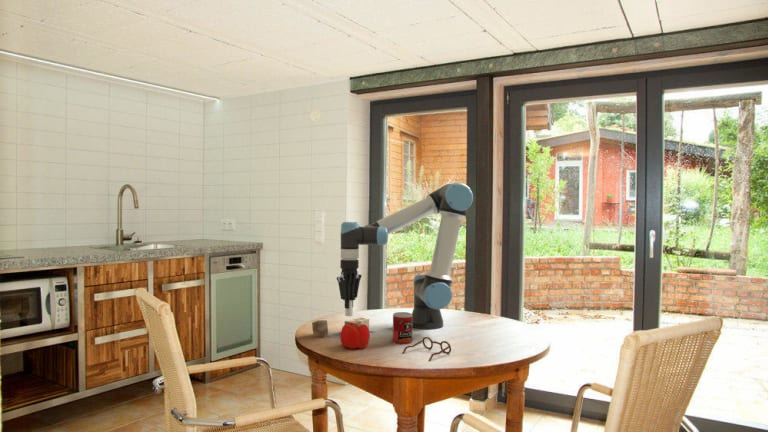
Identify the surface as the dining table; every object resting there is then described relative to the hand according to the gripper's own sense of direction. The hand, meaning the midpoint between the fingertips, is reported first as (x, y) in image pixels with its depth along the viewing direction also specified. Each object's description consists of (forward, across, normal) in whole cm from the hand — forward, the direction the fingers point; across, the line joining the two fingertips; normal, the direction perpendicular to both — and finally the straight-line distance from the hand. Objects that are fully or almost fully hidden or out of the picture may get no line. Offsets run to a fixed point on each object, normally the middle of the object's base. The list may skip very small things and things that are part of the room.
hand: (348, 315), depth 214 cm
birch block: (+5, 0, 0) cm, 5 cm away
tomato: (+8, +12, +15) cm, 21 cm away
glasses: (+9, +2, +40) cm, 41 cm away
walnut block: (+8, +9, -7) cm, 14 cm away
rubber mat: (+8, -1, 0) cm, 8 cm away
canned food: (+8, -7, +23) cm, 25 cm away
